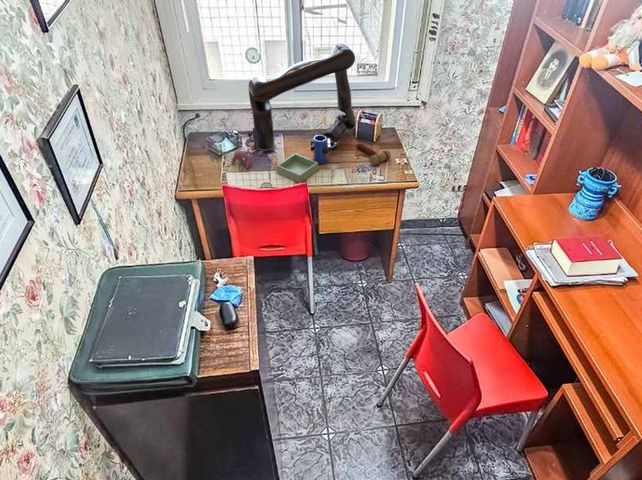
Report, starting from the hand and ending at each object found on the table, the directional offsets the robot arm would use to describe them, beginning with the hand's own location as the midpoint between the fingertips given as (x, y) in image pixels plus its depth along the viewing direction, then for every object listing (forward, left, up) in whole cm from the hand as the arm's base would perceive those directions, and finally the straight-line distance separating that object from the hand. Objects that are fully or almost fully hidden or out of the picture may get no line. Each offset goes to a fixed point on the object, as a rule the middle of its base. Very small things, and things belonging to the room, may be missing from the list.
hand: (318, 151), depth 222 cm
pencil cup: (0, +2, -7) cm, 7 cm away
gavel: (+16, +22, -7) cm, 28 cm away
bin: (-3, -12, -7) cm, 14 cm away
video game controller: (-28, -23, -7) cm, 37 cm away
